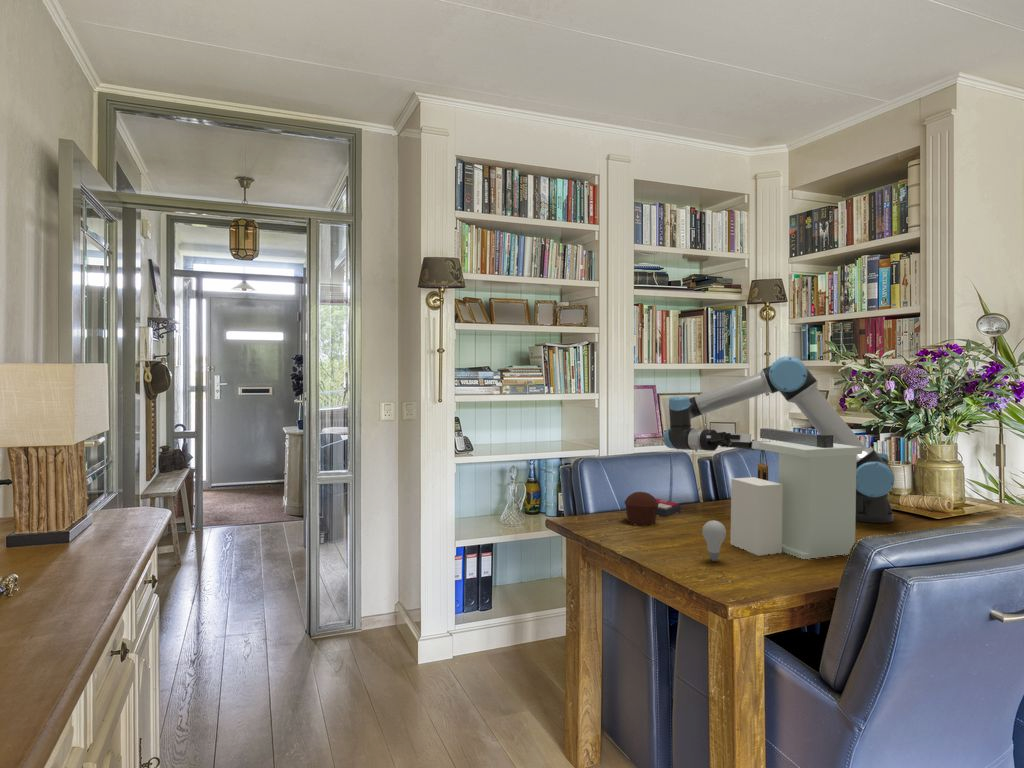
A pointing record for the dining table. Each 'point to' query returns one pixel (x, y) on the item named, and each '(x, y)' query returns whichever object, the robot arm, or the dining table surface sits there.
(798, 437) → the rod
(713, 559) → the lightbulb
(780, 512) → the post
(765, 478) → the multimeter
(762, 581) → the dining table surface
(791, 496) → the stand
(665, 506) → the red and black box
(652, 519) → the muffin
